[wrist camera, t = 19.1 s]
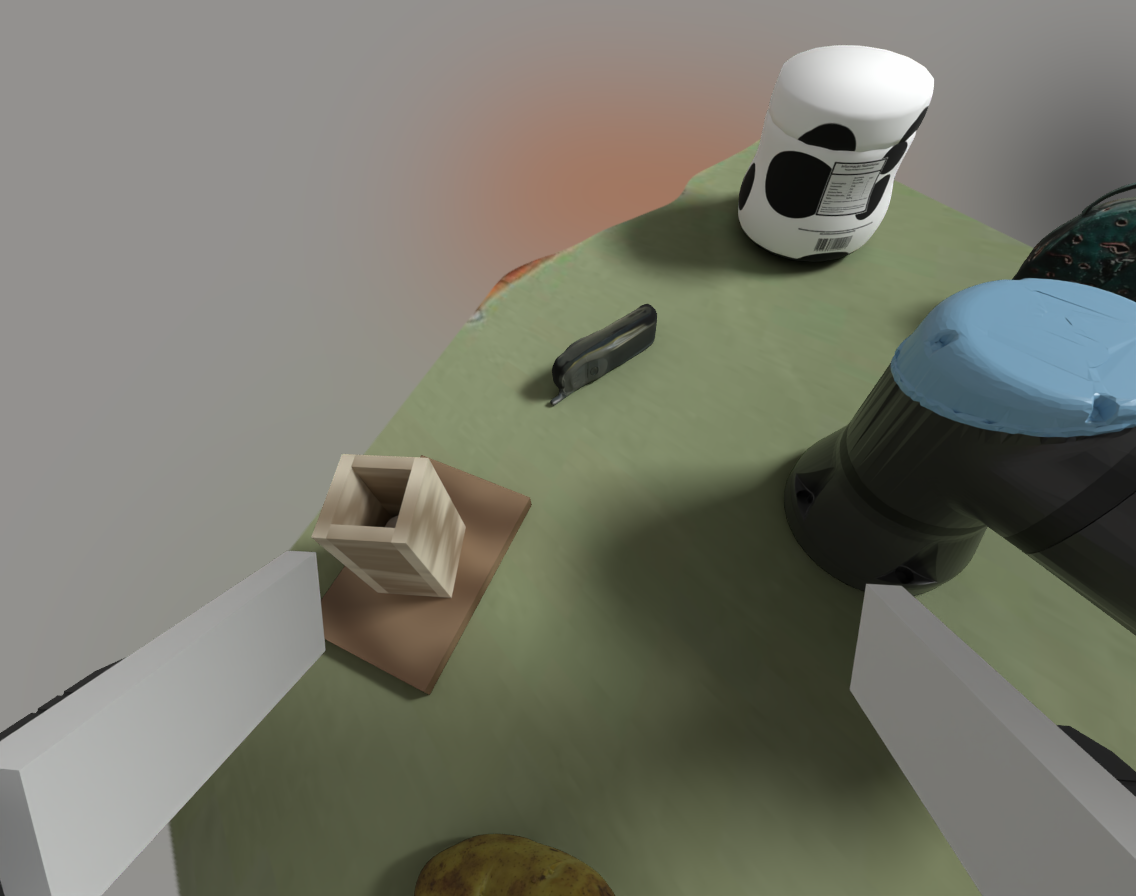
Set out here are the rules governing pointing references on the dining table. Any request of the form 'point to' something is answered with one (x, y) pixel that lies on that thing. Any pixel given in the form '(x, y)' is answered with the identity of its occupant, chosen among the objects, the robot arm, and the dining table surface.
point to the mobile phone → (603, 351)
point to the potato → (507, 870)
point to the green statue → (1091, 248)
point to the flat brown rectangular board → (424, 623)
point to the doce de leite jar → (831, 150)
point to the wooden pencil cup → (392, 555)
